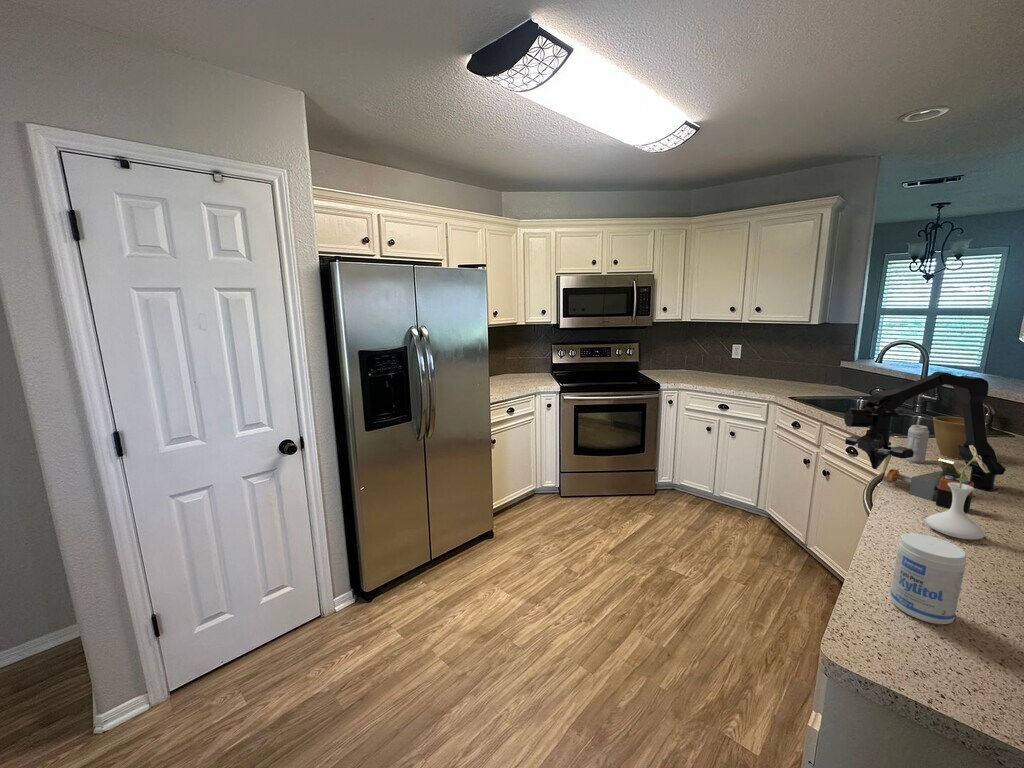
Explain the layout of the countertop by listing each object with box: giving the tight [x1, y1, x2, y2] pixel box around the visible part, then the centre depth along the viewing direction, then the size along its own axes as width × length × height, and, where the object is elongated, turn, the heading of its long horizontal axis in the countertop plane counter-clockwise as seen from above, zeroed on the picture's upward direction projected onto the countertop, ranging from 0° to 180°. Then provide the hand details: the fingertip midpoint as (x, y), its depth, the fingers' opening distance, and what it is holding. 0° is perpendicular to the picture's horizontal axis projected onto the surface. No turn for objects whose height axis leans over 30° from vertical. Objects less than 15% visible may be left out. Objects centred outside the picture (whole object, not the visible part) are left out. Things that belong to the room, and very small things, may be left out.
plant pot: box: [932, 416, 966, 460], centre depth 174 cm, size 15×15×16 cm
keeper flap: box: [936, 457, 961, 476], centre depth 140 cm, size 7×4×1 cm
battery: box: [935, 475, 975, 514], centre depth 129 cm, size 4×7×10 cm, turn 33°
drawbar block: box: [909, 470, 963, 502], centre depth 139 cm, size 16×6×6 cm, turn 109°
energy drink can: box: [904, 424, 930, 464], centre depth 169 cm, size 6×6×15 cm
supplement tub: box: [889, 532, 967, 625], centre depth 84 cm, size 10×10×15 cm
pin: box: [886, 468, 939, 492], centre depth 140 cm, size 4×14×4 cm, turn 19°
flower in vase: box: [924, 445, 990, 540], centre depth 113 cm, size 13×11×25 cm
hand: (874, 468), depth 152 cm, fingers closed
